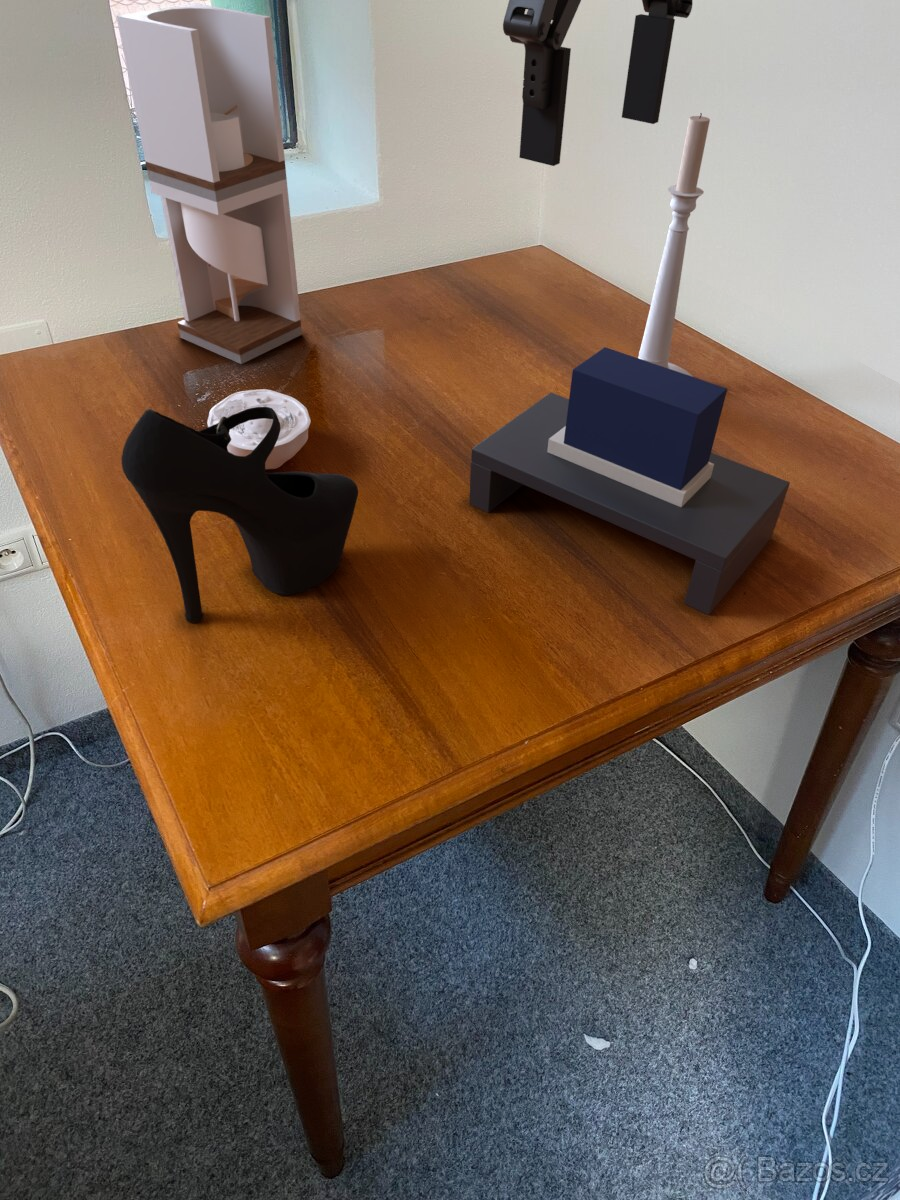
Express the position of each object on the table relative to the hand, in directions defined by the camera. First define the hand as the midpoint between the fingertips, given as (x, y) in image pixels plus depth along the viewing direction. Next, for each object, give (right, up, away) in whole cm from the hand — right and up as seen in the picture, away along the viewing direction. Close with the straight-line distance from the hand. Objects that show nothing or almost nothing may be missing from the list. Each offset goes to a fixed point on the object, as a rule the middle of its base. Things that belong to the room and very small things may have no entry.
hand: (592, 139), depth 62 cm
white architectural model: (-37, +2, +52) cm, 64 cm away
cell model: (-30, -18, +31) cm, 47 cm away
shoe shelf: (+6, -25, +24) cm, 35 cm away
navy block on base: (+6, -20, +20) cm, 29 cm away
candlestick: (+14, -8, +43) cm, 46 cm away
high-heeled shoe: (-27, -31, +16) cm, 44 cm away
